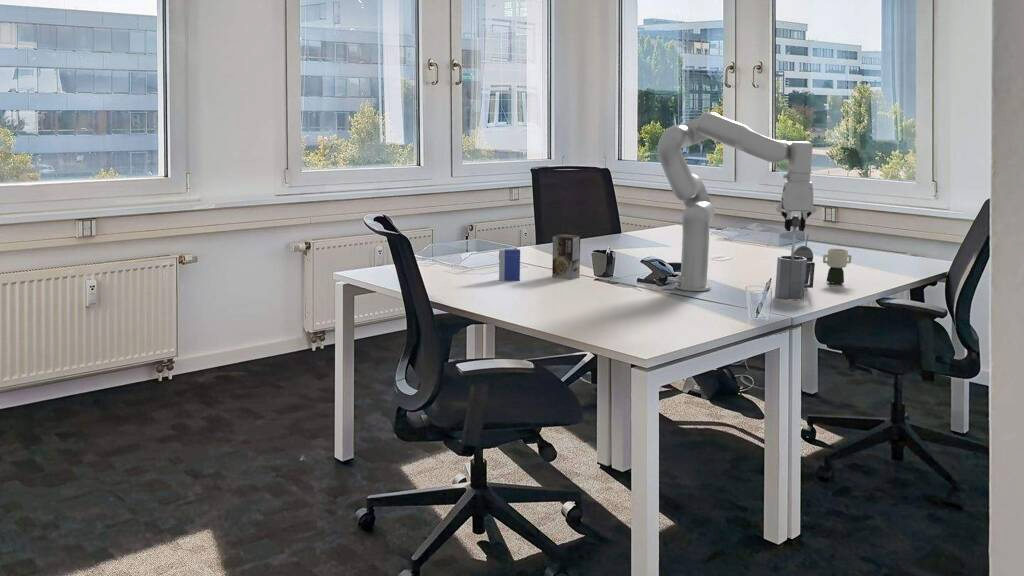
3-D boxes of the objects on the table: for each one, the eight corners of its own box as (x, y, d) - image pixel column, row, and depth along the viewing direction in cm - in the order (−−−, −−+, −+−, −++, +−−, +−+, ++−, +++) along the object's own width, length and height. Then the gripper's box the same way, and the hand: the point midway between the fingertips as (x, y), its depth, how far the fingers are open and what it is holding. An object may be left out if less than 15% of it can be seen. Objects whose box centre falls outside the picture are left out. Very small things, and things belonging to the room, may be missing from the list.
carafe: (780, 299, 318) (783, 260, 315) (772, 294, 327) (774, 255, 325) (816, 300, 319) (819, 260, 316) (806, 294, 328) (809, 255, 325)
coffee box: (580, 277, 354) (581, 235, 350) (572, 279, 348) (573, 237, 345) (559, 274, 358) (560, 233, 355) (551, 277, 353) (552, 235, 350)
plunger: (785, 273, 318) (789, 216, 314) (779, 270, 324) (783, 214, 320) (803, 274, 318) (808, 217, 314) (797, 270, 324) (801, 214, 320)
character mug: (845, 281, 352) (848, 248, 350) (852, 285, 345) (855, 251, 343) (817, 281, 352) (820, 248, 349) (824, 285, 345) (827, 251, 342)
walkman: (519, 279, 347) (519, 248, 345) (519, 280, 345) (520, 249, 342) (498, 279, 347) (498, 248, 344) (498, 280, 344) (499, 249, 342)
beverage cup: (795, 284, 345) (799, 232, 341) (814, 287, 340) (818, 234, 336) (787, 287, 339) (791, 234, 335) (806, 290, 335) (810, 236, 331)
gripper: (778, 178, 311) (774, 232, 314) (826, 179, 311) (822, 232, 315) (771, 176, 318) (767, 229, 322) (818, 177, 319) (814, 229, 322)
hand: (794, 230), depth 318 cm, fingers closed on plunger, 4 cm apart
